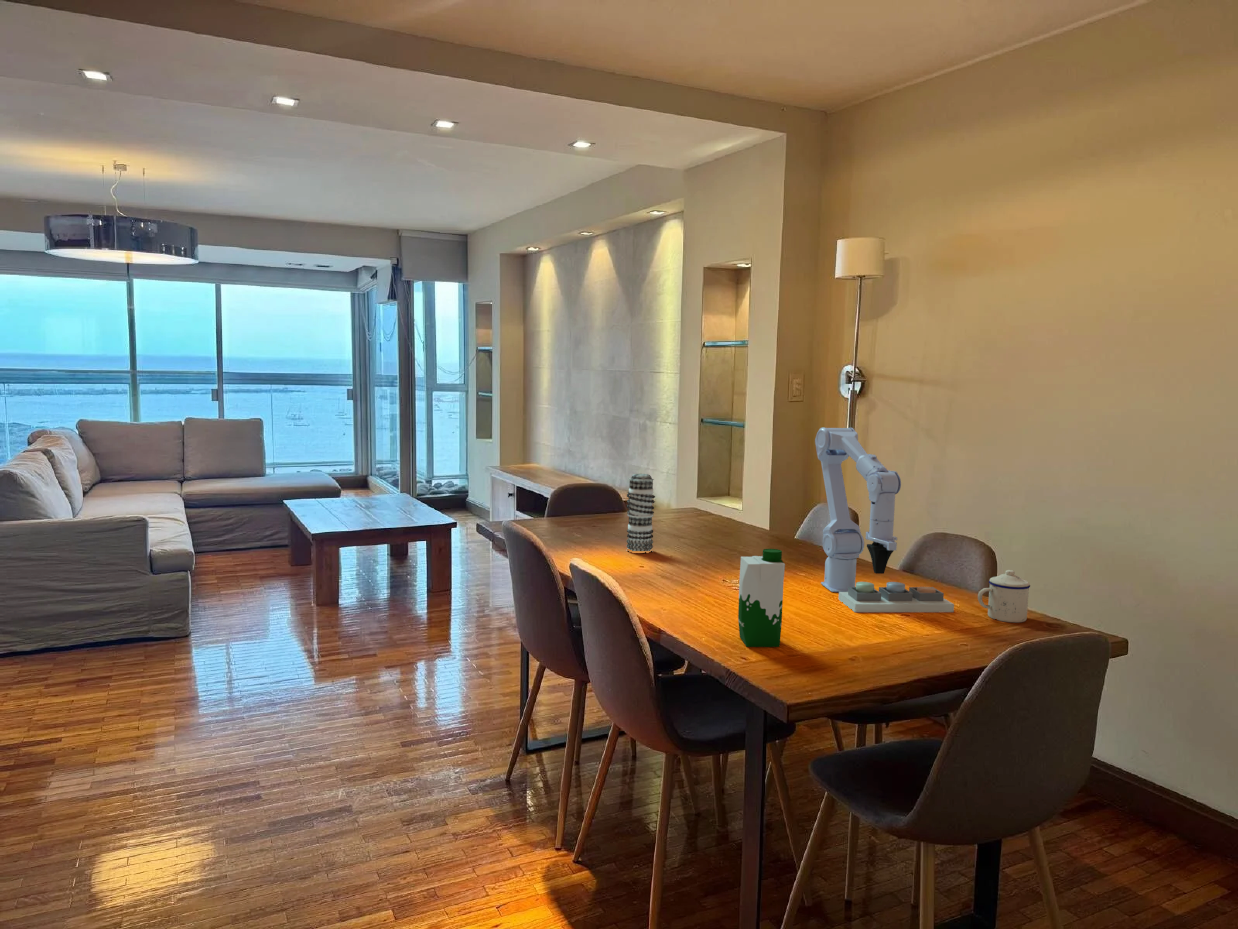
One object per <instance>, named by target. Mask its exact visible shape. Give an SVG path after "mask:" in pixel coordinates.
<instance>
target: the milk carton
mask: <svg viewBox="0 0 1238 929" xmlns="http://www.w3.org/2000/svg"><path fill="white" fill-rule="evenodd" d="M782 558H783V551H782V550H781V549H778V548H764V549H763V550H762V555H761V556H760V555H759V556H758V555H752V556H740V565H739V566H740V567H739V583H738V584H739V585H738V609H737V610H738V611H737V614H738V616H737V620H738V632H739V638H740V640H741V641H742V643H743V644H744V645H745V647H747V648H776V647H777V648H780V644H781V636H782V635H781V634H782V625H783V624H782V623H783V606H784V605H783V603H784V602H783V601H784V600H783V599H784V598H783V597H784V579H785V567H786V564H785V562H784V561H783V559H782Z"/></svg>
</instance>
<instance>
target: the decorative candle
mask: <svg viewBox="0 0 1238 929" xmlns="http://www.w3.org/2000/svg"><path fill="white" fill-rule="evenodd" d="M628 480H629V488H628V490H627V494H626V498H628V499H627V500H626V503H627V504H626V508H627V509H628V510H627V513H626V515H627V517H628V524H627V530H626V532H627V534H626V537H627V539H626V543H627V544H626V548H627V549H630V550H632V551H650V550H651V549H652V550H653V547H654V545H653V543H654V540H653V538H654V534H653V533H654V529H653V523H652V522H653V517H654V514H655V511H654V509H655V506H653V504H654V503H655V502H656V501H655V500H654V499H655V498H656V496H655V495H654V494H653V493H654V488H653V486H654V483H653V482H654V480H655V479H654V478H652V476H651V475H650V474H648V473H634V474H632V475H631V477H630V478H628Z"/></svg>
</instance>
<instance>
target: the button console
mask: <svg viewBox="0 0 1238 929" xmlns="http://www.w3.org/2000/svg"><path fill="white" fill-rule="evenodd" d="M918 587H919V586H909V588H908V589H906V588H905V593H889V592H888V591H886V588H887V586H879V587H878V590H877V589H875V588H874V593H858V592H857V591H856V586H855V587H848V592H838V600H839V601H840V602H841V603H842V602H843V603H842V604H844V605H845V606H846V607H847V606H848V608H849V609H850V610H851V609H852V611H853V612H854V613H954V612H955V604H954V603H953V602H951V601H949V600H948V599H945V598H944V595H945V592H943V591H941V590H939V589H937V588H935V587H934V586H931V587H930V586H929V587H930V588H934V589H935V590H936V592H935V593H920V592H919V591H917V588H918Z"/></svg>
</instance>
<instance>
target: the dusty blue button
mask: <svg viewBox="0 0 1238 929" xmlns="http://www.w3.org/2000/svg"><path fill="white" fill-rule="evenodd" d="M886 587H887V588H886V591H888V592H889V593H905V589H906V584H905V583H904V582H898V581H887V582H886Z"/></svg>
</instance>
